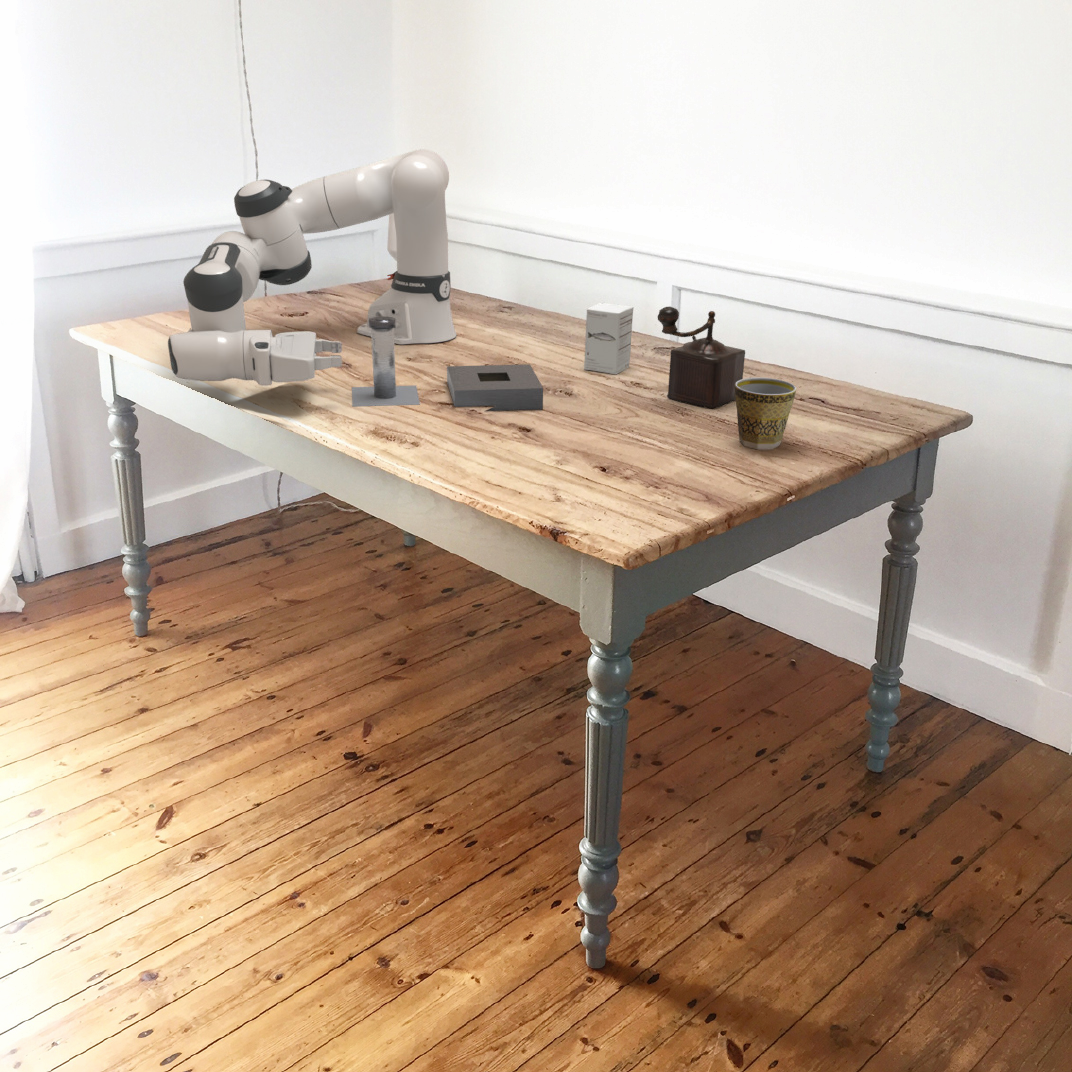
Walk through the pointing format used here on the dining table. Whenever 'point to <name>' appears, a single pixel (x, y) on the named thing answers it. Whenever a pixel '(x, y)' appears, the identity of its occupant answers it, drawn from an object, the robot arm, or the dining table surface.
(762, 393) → the ceramic cup
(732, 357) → the manual coffee grinder
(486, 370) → the block
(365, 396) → the rest pad
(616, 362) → the supplement box
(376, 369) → the steel rivet
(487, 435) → the dining table surface
